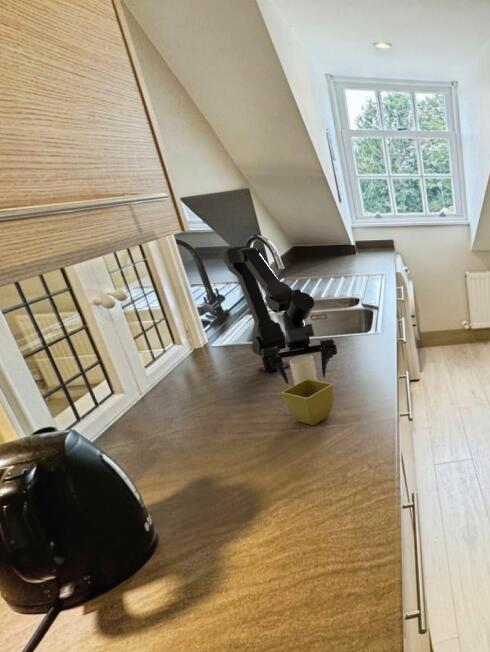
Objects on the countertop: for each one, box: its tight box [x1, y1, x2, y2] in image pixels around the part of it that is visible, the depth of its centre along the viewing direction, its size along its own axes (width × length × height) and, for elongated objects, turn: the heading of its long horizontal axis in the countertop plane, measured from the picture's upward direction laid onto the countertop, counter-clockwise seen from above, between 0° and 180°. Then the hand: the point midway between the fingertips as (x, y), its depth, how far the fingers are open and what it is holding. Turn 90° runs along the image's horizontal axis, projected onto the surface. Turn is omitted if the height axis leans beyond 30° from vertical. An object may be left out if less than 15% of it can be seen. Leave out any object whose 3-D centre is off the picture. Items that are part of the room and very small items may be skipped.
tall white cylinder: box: [288, 354, 319, 386], centre depth 121 cm, size 6×6×13 cm
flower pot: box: [281, 379, 334, 426], centre depth 113 cm, size 9×9×9 cm
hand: (306, 380), depth 121 cm, fingers open, 9 cm apart
